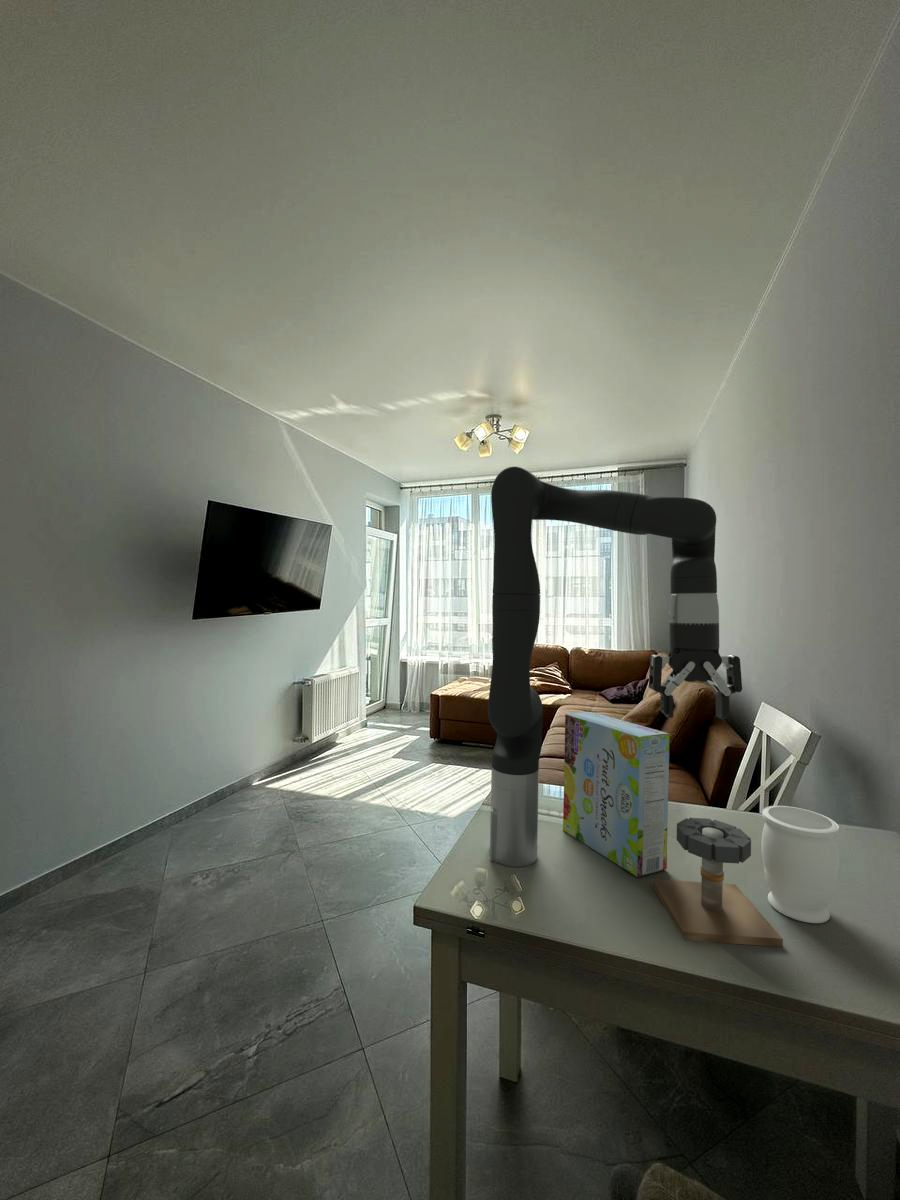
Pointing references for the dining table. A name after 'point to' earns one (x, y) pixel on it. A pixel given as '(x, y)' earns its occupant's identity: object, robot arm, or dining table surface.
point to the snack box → (617, 790)
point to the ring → (714, 841)
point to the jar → (800, 861)
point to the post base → (715, 923)
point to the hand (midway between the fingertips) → (694, 717)
